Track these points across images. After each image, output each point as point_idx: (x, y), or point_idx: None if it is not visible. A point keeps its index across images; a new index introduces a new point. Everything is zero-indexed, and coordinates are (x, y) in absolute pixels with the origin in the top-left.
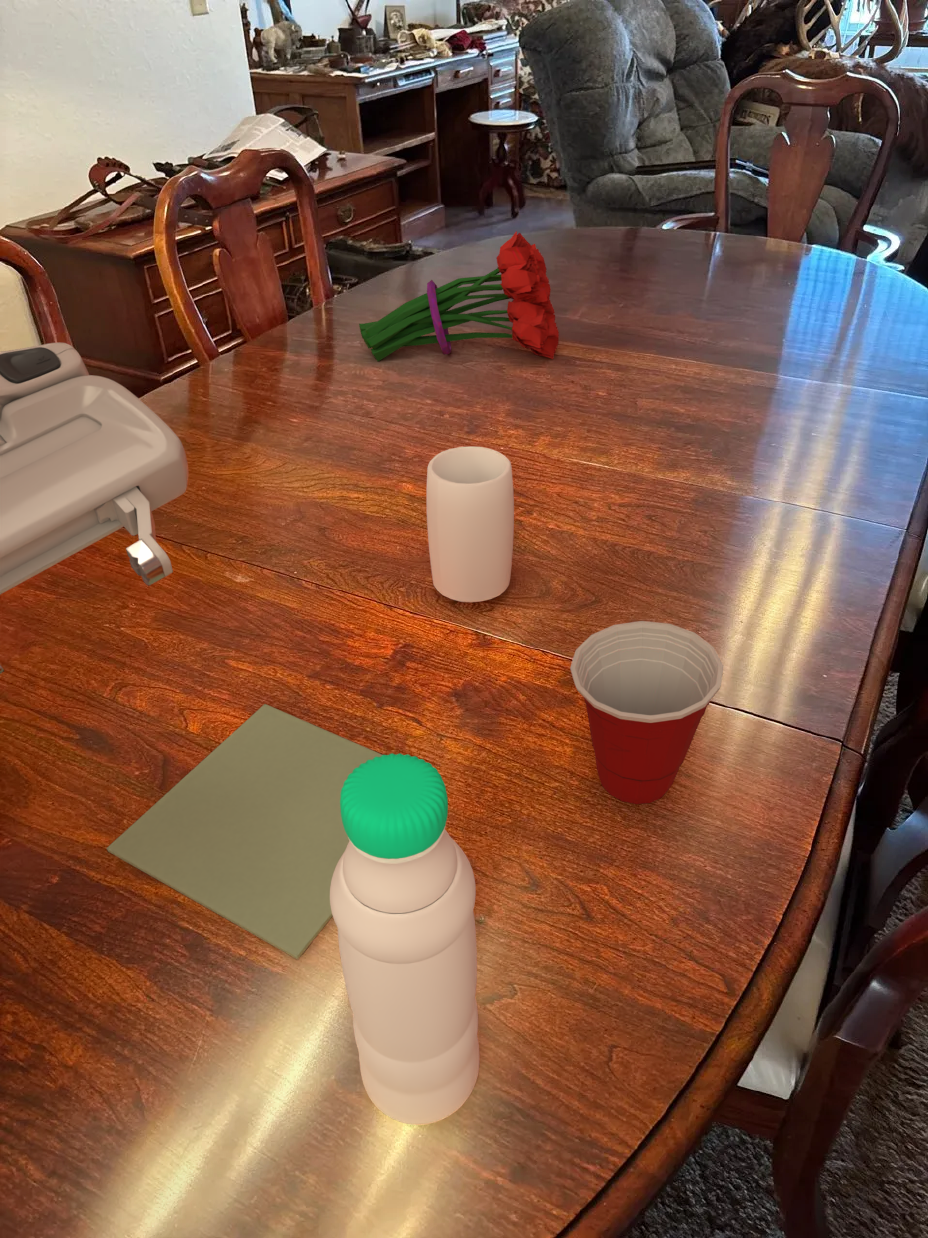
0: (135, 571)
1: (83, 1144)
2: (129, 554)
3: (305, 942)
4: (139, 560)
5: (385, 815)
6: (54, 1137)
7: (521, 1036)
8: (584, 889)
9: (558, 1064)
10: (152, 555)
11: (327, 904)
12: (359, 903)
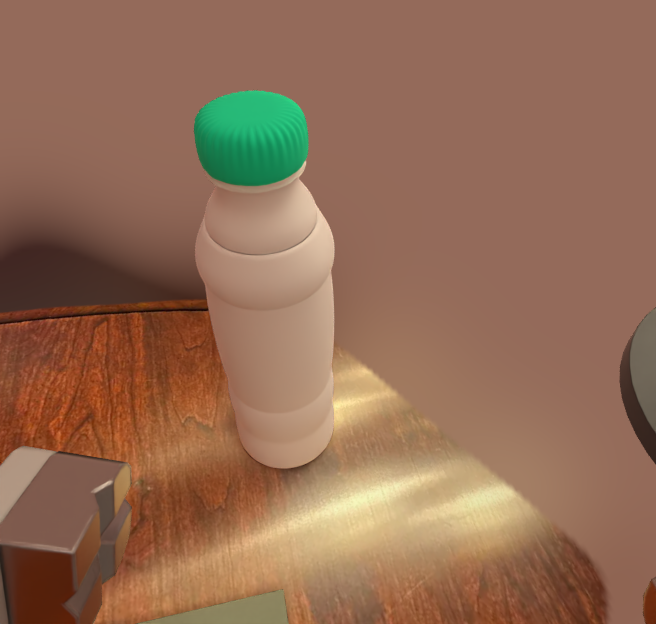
0: (95, 613)
1: (539, 590)
2: (87, 541)
3: (264, 596)
4: (100, 484)
5: (283, 98)
6: (563, 620)
7: (218, 394)
8: (61, 435)
9: (220, 366)
10: (53, 465)
11: (212, 618)
12: (317, 217)
